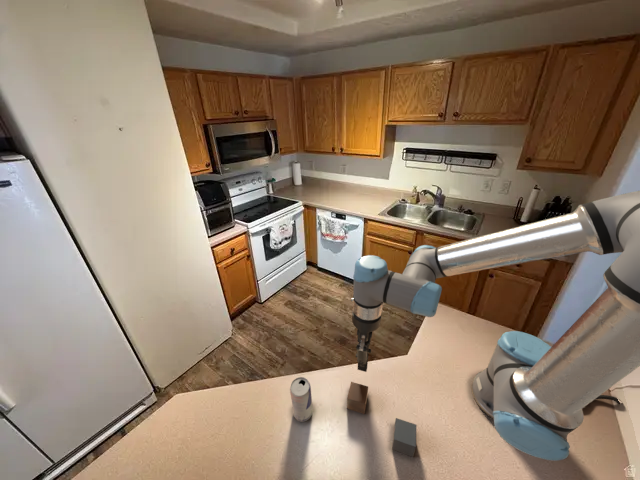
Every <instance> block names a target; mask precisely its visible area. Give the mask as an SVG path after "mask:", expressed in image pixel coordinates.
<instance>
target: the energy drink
mask: <svg viewBox="0 0 640 480" xmlns="http://www.w3.org/2000/svg"><path fill="white" fill-rule="evenodd" d="M289 393H290V398H291V405H292V412H293V416H294V418H295V419H296V421H298V422H301V423H303V422H307V421H308V420H310V419H311V417H312V415H313V412H314V411H313V402H312V401H313V399H312V387H311V383H310V381H309V380H308V378H306V377H303V376H298V377H296V378H294V379H293V380H292V381H291V382H290V387H289Z"/></svg>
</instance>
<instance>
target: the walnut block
mask: <svg viewBox="0 0 640 480" xmlns="http://www.w3.org/2000/svg"><path fill="white" fill-rule="evenodd" d="M368 393H369V386H367V385H365V384H362V383H361V384H360V383H358V382H354V381H350V384H349V389H348V393H347V397H346V409H348V410H350V411H354V412H356V413H360V414H362V415H366V414H365V413H366V407H367V401H368Z"/></svg>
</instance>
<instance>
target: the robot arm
mask: <svg viewBox="0 0 640 480" xmlns="http://www.w3.org/2000/svg"><path fill="white" fill-rule="evenodd" d="M587 252H589V253H590V252H591V253H593V254H596V255H598V256H603V255H610V254H617V253H619V254H620V255H619V256H618V257H617V258H616V259H615V260H614V261H613V262H612V263H611V264H610V266H609V267H608V268H607V269H606V270H605V271H604V272H603V275H602V277H603V279H604V282H605V284H606V286H607V288H606V289H605V290H604V291H603V292H602V293H601V294H600V295H599V296H598V297H597V298H596V300H594V302H593V303H592V304H590V306H589V307H588V308H587V309H586V310H584V312H583V313H582V314H581V315H580V316H579V318H578V319H576V321H575V322H574V323H573V324H572V325H571V326H569V328H568V329H567V330H566V331H565V332H564V333H563V334H562V335H561V337H559V338H558V340H556V342H554V343H553V345H550V344H548V342H545V341H544V340H542V339H541V338H539V337H538V336H535V335H534V334H533V335H532V334H530V333H527V332H523V331H519V330H511V331H506V332H504V333H502V334H501V336H500V338H498V340H497V344H496V346H495V348H494V350H493V353H492V355H491V357H490V360H489V363H488V365H487V367H486V368H484V369H482V370H481V371H479V372H478V373H477V374H476V375H475V376H474V378H473V379H472V381H471V387H470V388H471V394H472V397H473V399H474V401H475V403H476V404H477V405H478V407H479V408H480V409H481V410H482V411H483V413H485V415H487V416H488V417H489V418H490V419H491V420H493V425H494V429H495V431H496V432H497V434H499V436H500V437H501V438H502V439H503V440H504V442H506V443H507V444H509V445H510V446H511V447H513V448H515V449H516V450H518V451H520V452H522V453H524V454H526V455H530V456H531V457H535V458H536V459H537V458H538V459H541V460H546V461H553V462H554V461H563V460H566V459H567V458H568V457H569V455H570V448H571V446H570V443H569V441H568V435H569V434H571V433H572V432H573V431H575V430H576V429H577V428H579V427H580V426H581V425H582V424H583V423H584V420H585V419H584V418H585V417H584V411H583V409H585V408H586V407H587V406H588V405H589V404H590V403H592V402H593V401H595V400H609V401H613V402H616V403H617V404H619V405H621V404H620V403H619V401H618V399H619V398H618V397H615V396H612V395H608V394H607V395H606V394H604V393H605V392H607V391H608V390H610V389H611V388H612V387H613V386H615V385H616V384H618V383H619V382H621V381H622V380H623V379H624V378H625V377H627V376H628V375H630V374H631V373H633V372H634V371H635V370H636V369H638V368H639V367H640V190H635V191H631V192H626V193H622V194H621V193H620V194H618V195H614V196H610V197H605V198H601V199H597V200H594V201H590V202H586V203H583V204H578V206H577V207H576V209H575V210H574V211H573V212H570V213H565V214H563V215H558V216H554V217H550V218H547V219H543V220H538V221H535V222H531V223H527V224H523V225H519V226H516V227H512V228H507V229H503V230H500V231H496V232H492V233H487V234H484V235H480V236H477V237H473V238H468V239H465V240H461V241H456V242H453V243H450V244H445V245H442V246H438V247H435V246H434V245H428V244H422V245H420V246H418V247H417V248H415V249H414V251H413V252H412V253H411V255H410V256H409V259H408V261H407V263H406V266H405V268H404V270H403V271H402V273H400V272H395V271H393V270H389V269H388V263H387V261H386V260H385V259H383V258H381V257H380V256H378V255H372V254H368V255H363V256H361V257H359V258H357V260H356V262H355V264H354V270H353V277H352V278H353V290H352V291H353V295H352V297H351V298H350V302H352V312H351V315H352V316H351V322H352V324H353V326H354V327H355V328H356V336H357V344H356V347H355V348H356V354H355V358H356V361H357V371H361V372H365V373H367V372H368V371H367V370H368V363H369V354H372V349H371V348H370V345H371V340H372V337H373V332H374V331H376V330H378V329H379V328H380V327H381V323H382V314H383V308H384V304H387V305H390V306H393V307H395V308H397V309H401V310H404V311H407V312H410V313H412V314H414V315H419V316H422V317H426V318H432V317H435V316H436V314H437V311H438V307H439V303H440V298H441V295H442V291H443V288H442V286H441V285H440V284H438V283H436V280H437V279H441V278H442V279H443V278H445V277H451V276H457V275H463V274H467V273H468V274H469V273H474V272H479V271H485V270H492V269H496V268H502V267H508V266H514V265H520V264H525V263H530V262H531V263H532V262H536V261H537V262H538V261H541V260H543V261H544V260H547V259H553V258H559V257H565V256H571V255H576V254H581V253H582V254H583V253H587ZM617 398H618V399H617Z"/></svg>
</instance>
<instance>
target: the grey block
mask: <svg viewBox="0 0 640 480" xmlns="http://www.w3.org/2000/svg"><path fill="white" fill-rule="evenodd" d="M391 442H392V443H391V450H393V451H395V452H398V453H401V454H404V455H406V456H409V457H412V458H413V457H414V455H415V451H416V448H417V424H415V423H413V422H410V421H407V420H404V419H401V418H398V417H395V420H394V424H393V432H392V441H391Z"/></svg>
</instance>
